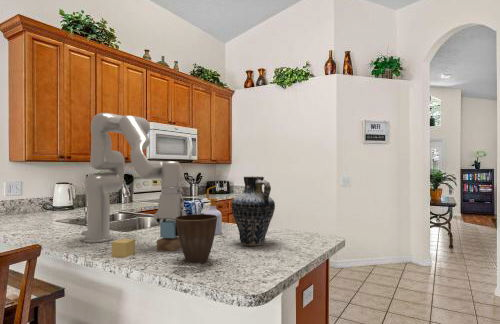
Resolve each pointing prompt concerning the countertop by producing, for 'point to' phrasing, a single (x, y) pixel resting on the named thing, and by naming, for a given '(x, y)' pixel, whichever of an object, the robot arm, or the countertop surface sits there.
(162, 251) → the grey flat board
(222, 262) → the countertop surface
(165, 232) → the blue brick
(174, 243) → the walnut base brick
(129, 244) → the ochre brick
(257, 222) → the jug
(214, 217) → the plant pot
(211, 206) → the soap bottle
